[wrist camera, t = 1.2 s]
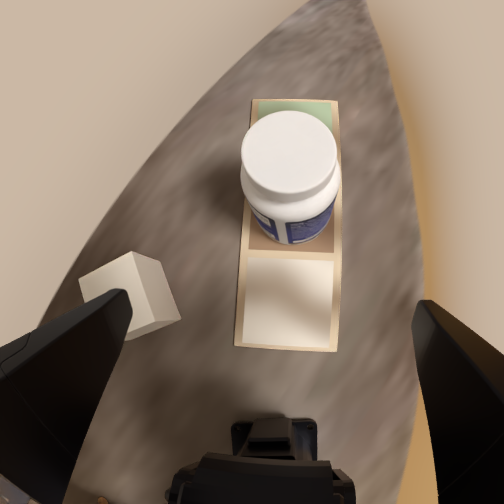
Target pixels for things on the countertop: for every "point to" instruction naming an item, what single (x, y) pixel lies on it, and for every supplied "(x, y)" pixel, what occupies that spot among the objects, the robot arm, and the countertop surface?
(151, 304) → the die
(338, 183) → the pill bottle
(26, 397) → the robot arm
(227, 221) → the countertop surface
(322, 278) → the game board
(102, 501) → the lion figurine
